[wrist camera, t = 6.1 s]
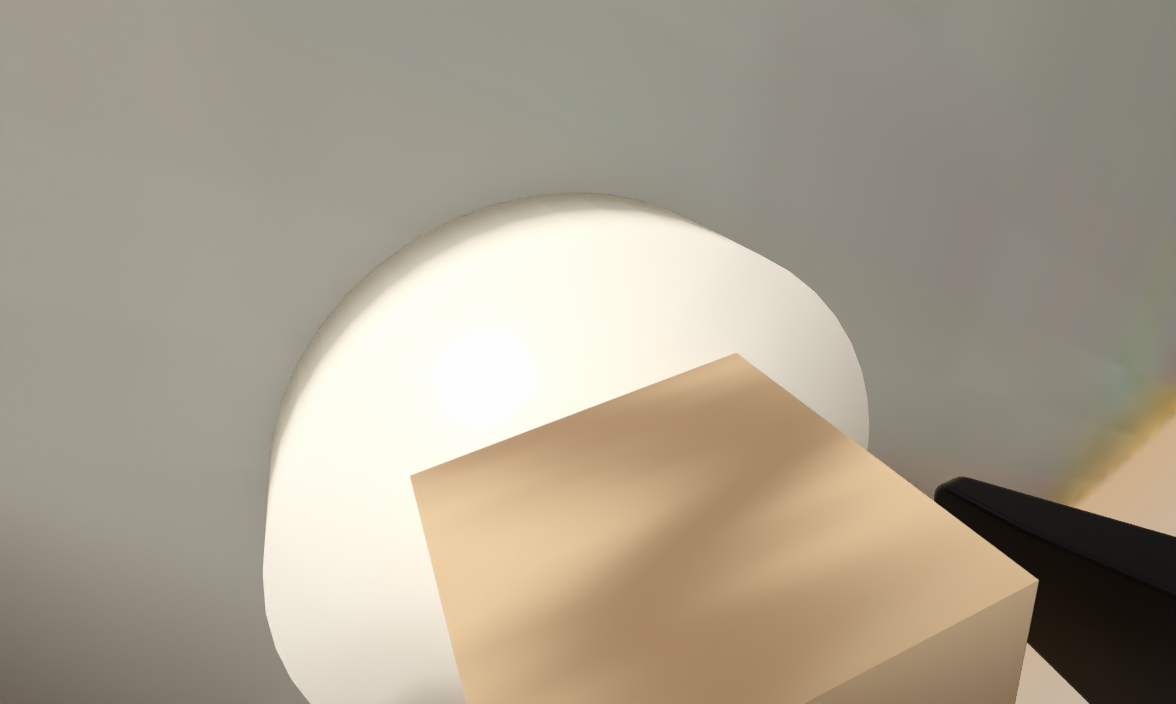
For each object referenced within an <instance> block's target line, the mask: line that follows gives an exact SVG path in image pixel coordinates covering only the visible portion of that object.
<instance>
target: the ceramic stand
mask: <svg viewBox="0 0 1176 704" xmlns="http://www.w3.org/2000/svg"><path fill="white" fill-rule="evenodd" d="M734 353H737V354H739V355H740V356H741V357H743V358H744V359H745V360H747V361H748V362H749V363H751V364H752V365H753V366H755V367H756V368H757V369H759V370H760V371H761V372H763V373H764V374H765V375H767V376H768V377H769V378H771V379H772V380H773V381H775V382H776V383H777V384H779V385H780V386H781V387H783V388H784V389H785V390H787V391H788V392H789V393H791V394H792V395H793V396H795V397H796V398H797V399H799V400H800V401H801V402H803V403H804V404H805V405H807V406H808V407H809V408H811V409H812V410H813V411H815V412H816V413H817V414H819V415H820V416H821V417H823V418H824V419H825V420H827V421H828V422H829V423H831V424H832V425H833V426H835V427H836V428H837V429H839V430H840V431H841V432H843V433H844V434H845V435H846V436H848V437H849V438H850V439H852V440H853V441H854V442H856V443H857V444H858V445H860V446H861V447H862V448H864V449H865V450H866V451H868V439H869V415H868V399H867V394H866V389H865V384H864V379H863V375H862V370H861V367H860V365H859V362H858V359H857V357H856V354H855V352H854V349H853V346H852V344H851V342H850V340H849V338H848V336H847V335H846V333H845V331H844V330H843V328H842V326H841V325H840V323H839V321H838V319H837V318H836V316H835V315H834V314H833V313H832V311H831V310H830V309H829V308H828V307H827V306H826V304H825V303H824V302H823V301H822V300H821V299H820V297H819V296H818V295H817V294H816V293H815V292H814V291H813V290H812V289H810V288H809V287H808V286H807V285H806V284H804V283H803V282H802V281H801V280H799V279H798V278H797V277H796V276H794V275H793V274H792V273H791V272H790V271H788V270H786V269H784V268H783V267H781V266H779V265H777V264H775V263H774V262H772V261H770V260H768V259H766V258H765V257H763V256H761V255H759V254H757V253H755V252H753V251H751V250H749V249H747V248H745V247H743V246H741V245H739V244H737V243H735V242H733V241H731V240H729V239H727V238H725V237H723V236H721V235H719V234H717V233H715V232H714V231H712V230H710V229H708V228H706V227H704V226H702V225H700V224H698V223H696V222H694V221H692V220H690V219H688V218H686V217H684V216H682V215H680V214H678V213H676V212H673V211H670V210H667V209H665V208H662V207H659V206H656V205H653V204H651V203H648V202H645V201H641V200H636V199H631V198H625V197H620V196H615V195H610V194H592V193H561V194H550V195H539V196H531V197H526V198H522V199H518V200H513V201H509V202H504V203H500V204H496V205H492V206H489V207H486V208H484V209H481V210H478V211H476V212H473V213H470V214H468V215H465V216H462V217H459V218H457V219H454V220H452V221H450V222H448V223H446V224H444V225H442V226H440V227H438V228H437V229H435V230H433V231H431V232H429V233H427V234H425V235H423V236H421V237H419V238H418V239H416V240H414V241H413V242H411V243H410V244H408V245H407V246H405V247H404V248H403V249H401V250H400V251H398V252H397V253H395V254H394V255H393V256H391V257H390V258H388V259H387V260H386V261H384V262H383V263H381V264H380V265H378V266H377V267H376V268H375V269H374V270H373V271H372V272H371V273H370V274H369V275H368V276H367V277H365V278H364V279H363V280H362V281H361V282H360V283H359V284H358V285H357V286H356V287H355V288H353V289H352V290H351V291H350V292H349V293H348V294H347V295H346V296H345V297H344V299H343V300H342V301H341V302H340V303H339V305H338V306H337V307H336V308H335V309H334V311H333V312H332V313H331V314H330V315H329V317H328V318H327V319H326V320H325V321H324V323H323V324H322V325H321V326H320V328H319V329H318V331H317V332H316V334H315V336H314V337H313V339H312V340H311V342H310V344H309V345H308V347H307V349H306V350H305V352H304V353H303V355H302V357H301V358H300V360H299V361H298V363H297V366H296V368H295V370H294V373H293V375H292V377H291V380H290V382H289V384H288V386H287V389H286V391H285V393H284V396H283V398H282V402H281V405H280V409H279V413H278V417H277V421H276V424H275V428H274V432H273V438H272V449H271V459H270V469H269V485H268V501H267V516H266V532H265V548H264V563H263V584H264V596H265V608H266V615H267V619H268V623H269V626H270V630H271V633H272V637H273V640H274V644H275V647H276V650H277V652H278V654H279V656H280V658H281V660H282V662H283V664H284V666H285V668H286V670H287V672H288V674H289V676H290V677H291V679H292V681H293V682H294V683H295V685H296V686H297V687H298V688H299V690H300V691H301V692H302V693H303V695H304V696H305V697H306V699H307V700H308V701H309V702H310V704H466V701H465V697H464V693H463V688H462V684H461V680H460V676H459V672H458V668H457V664H456V660H455V656H454V652H453V648H452V644H451V640H450V636H449V632H448V628H447V624H446V620H445V616H444V612H443V608H442V604H441V600H440V596H439V592H438V588H437V583H436V579H435V575H434V571H433V567H432V563H431V559H430V555H429V551H428V547H427V543H426V539H425V535H424V531H423V527H422V523H421V519H420V515H419V511H418V507H417V503H416V499H415V495H414V491H413V487H412V482H411V478H410V475H413V474H415V473H418V472H421V471H423V470H426V469H429V468H431V467H434V466H437V465H439V464H442V463H445V462H447V461H450V460H453V459H455V458H458V457H461V456H463V455H466V454H469V453H471V452H474V451H476V450H479V449H482V448H484V447H487V446H490V445H492V444H495V443H498V442H500V441H503V440H506V439H508V438H511V437H514V436H516V435H519V434H522V433H524V432H527V431H530V430H532V429H535V428H538V427H540V426H543V425H545V424H548V423H551V422H553V421H556V420H559V419H561V418H564V417H567V416H569V415H572V414H575V413H577V412H580V411H583V410H585V409H588V408H591V407H593V406H596V405H599V404H601V403H604V402H607V401H609V400H612V399H614V398H617V397H620V396H622V395H625V394H628V393H630V392H633V391H636V390H638V389H641V388H644V387H646V386H649V385H652V384H654V383H657V382H660V381H662V380H665V379H668V378H670V377H673V376H676V375H678V374H681V373H683V372H686V371H689V370H691V369H694V368H697V367H699V366H702V365H705V364H707V363H710V362H713V361H715V360H718V359H721V358H723V357H726V356H729V355H731V354H734Z"/></svg>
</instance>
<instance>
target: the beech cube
mask: <svg viewBox="0 0 1176 704" xmlns="http://www.w3.org/2000/svg"><path fill="white" fill-rule="evenodd" d="M410 478H411V482H412V487H413V491H414V495H415V499H416V503H417V507H418V511H419V515H420V519H421V523H422V527H423V531H424V535H425V539H426V543H427V547H428V551H429V555H430V559H431V563H432V567H433V571H434V575H435V579H436V583H437V588H438V592H439V596H440V600H441V604H442V608H443V612H444V616H445V620H446V624H447V628H448V632H449V636H450V640H451V644H452V648H453V652H454V656H455V660H456V664H457V668H458V672H459V676H460V680H461V684H462V688H463V693H464V697H465V701H466V704H1015V701H1016V696H1017V691H1018V685H1019V680H1020V674H1021V670H1022V664H1023V659H1024V654H1025V649H1026V644H1027V639H1028V634H1029V628H1030V623H1031V618H1032V613H1033V608H1034V602H1035V597H1036V592H1037V587H1038V582H1039V580H1038V579H1037V578H1035V577H1034V576H1033V575H1031V574H1030V573H1029V572H1027V571H1026V570H1025V569H1023V568H1022V567H1021V566H1019V565H1018V564H1017V563H1015V562H1014V561H1013V560H1011V559H1010V558H1009V557H1007V556H1006V555H1005V554H1003V553H1002V552H1001V551H999V550H998V549H997V548H995V547H994V546H993V545H991V544H990V543H989V542H987V541H986V540H985V539H983V538H982V537H981V536H979V535H978V534H977V533H976V532H974V531H973V530H972V529H970V528H969V527H968V526H966V525H965V524H964V523H962V522H961V521H960V520H958V519H957V518H956V517H954V516H953V515H952V514H950V513H949V512H948V511H946V510H945V509H944V508H942V507H941V506H940V505H938V504H937V503H936V502H934V501H933V500H932V499H930V498H929V497H928V496H926V495H925V494H924V493H922V492H921V491H920V490H918V489H917V488H916V487H914V486H913V485H912V484H910V483H909V482H908V481H906V480H905V479H904V478H902V477H901V476H900V475H898V474H897V473H896V472H894V471H893V470H892V469H890V468H889V467H888V466H886V465H885V464H884V463H882V462H881V461H880V460H878V459H877V458H876V457H874V456H873V455H872V454H870V453H869V452H868V451H866V450H865V449H864V448H862V447H861V446H860V445H858V444H857V443H856V442H854V441H853V440H852V439H850V438H849V437H848V436H846V435H845V434H844V433H843V432H841V431H840V430H839V429H837V428H836V427H835V426H833V425H832V424H831V423H829V422H828V421H827V420H825V419H824V418H823V417H821V416H820V415H819V414H817V413H816V412H815V411H813V410H812V409H811V408H809V407H808V406H807V405H805V404H804V403H803V402H801V401H800V400H799V399H797V398H796V397H795V396H793V395H792V394H791V393H789V392H788V391H787V390H785V389H784V388H783V387H781V386H780V385H779V384H777V383H776V382H775V381H773V380H772V379H771V378H769V377H768V376H767V375H765V374H764V373H763V372H761V371H760V370H759V369H757V368H756V367H755V366H753V365H752V364H751V363H749V362H748V361H747V360H745V359H744V358H743V357H741V356H740V355H739V354H737V353H734V354H731V355H729V356H726V357H723V358H721V359H718V360H715V361H713V362H710V363H707V364H705V365H702V366H699V367H697V368H694V369H691V370H689V371H686V372H683V373H681V374H678V375H676V376H673V377H670V378H668V379H665V380H662V381H660V382H657V383H654V384H652V385H649V386H646V387H644V388H641V389H638V390H636V391H633V392H630V393H628V394H625V395H622V396H620V397H617V398H614V399H612V400H609V401H607V402H604V403H601V404H599V405H596V406H593V407H591V408H588V409H585V410H583V411H580V412H577V413H575V414H572V415H569V416H567V417H564V418H561V419H559V420H556V421H553V422H551V423H548V424H545V425H543V426H540V427H538V428H535V429H532V430H530V431H527V432H524V433H522V434H519V435H516V436H514V437H511V438H508V439H506V440H503V441H500V442H498V443H495V444H492V445H490V446H487V447H484V448H482V449H479V450H476V451H474V452H471V453H469V454H466V455H463V456H461V457H458V458H455V459H453V460H450V461H447V462H445V463H442V464H439V465H437V466H434V467H431V468H429V469H426V470H423V471H421V472H418V473H415V474H413V475H410Z"/></svg>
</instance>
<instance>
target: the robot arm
mask: <svg viewBox="0 0 1176 704" xmlns="http://www.w3.org/2000/svg"><path fill="white" fill-rule="evenodd" d="M934 502H936V503H937V504H938V505H940V506H941V507H942V508H944V509H945V510H946V511H948V512H949V513H950V514H952V515H953V516H954V517H956V518H957V519H958V520H960V521H961V522H962V523H964V524H965V525H966V526H968V527H969V528H970V529H972V530H973V531H974V532H976V533H977V534H978V535H979V536H981V537H982V538H983V539H985V540H986V541H987V542H989V543H990V544H991V545H993V546H994V547H995V548H997V549H998V550H999V551H1001V552H1002V553H1003V554H1005V555H1006V556H1007V557H1009V558H1010V559H1011V560H1013V561H1014V562H1015V563H1017V564H1018V565H1019V566H1021V567H1022V568H1023V569H1025V570H1026V571H1027V572H1029V573H1030V574H1031V575H1033V576H1034V577H1035V578H1037V579H1038V580H1039V582H1038V587H1037V592H1036V597H1035V602H1034V608H1033V613H1032V618H1031V623H1030V628H1029V634H1028V639H1027V643H1028V644H1029V645H1031V647H1032V648H1033V649H1034V650H1035V651H1036V652H1037V653H1038V654H1039V655H1041V657H1043V658H1044V659H1045V660H1046V661H1047V662H1048V663H1049V664H1050V665H1051V666H1052V667H1053V668H1054V669H1055V670H1056V671H1057V672H1058V673H1059V674H1060V675H1061V676H1062V677H1063V678H1064V679H1065V680H1066V681H1067V682H1068V683H1069V684H1070V685H1071V686H1072V687H1073V688H1074V689H1075V690H1076V691H1077V692H1078V693H1079V694H1080V695H1081V696H1082V697H1083V698H1084V699H1085V700H1086V701H1087V702H1088V703H1089V704H1176V537H1174V536H1171V535H1167V534H1164V533H1160V532H1156V531H1153V530H1149V529H1146V528H1142V527H1139V526H1135V525H1132V524H1129V523H1125V522H1122V521H1118V520H1115V519H1111V518H1108V517H1104V516H1100V515H1097V514H1094V513H1090V512H1087V511H1083V510H1080V509H1076V508H1073V507H1069V506H1066V505H1062V504H1059V503H1055V502H1052V501H1048V500H1045V499H1041V498H1038V497H1034V496H1031V495H1027V494H1024V493H1020V492H1017V491H1013V490H1010V489H1007V488H1003V487H1000V486H996V485H993V484H989V483H986V482H982V481H979V480H975V479H972V478H968V477H957V478H954V479H952V480H950V481H948V482H945V483H943V484H941V485H939V486H938V487H937V489H936V490H935V494H934Z"/></svg>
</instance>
